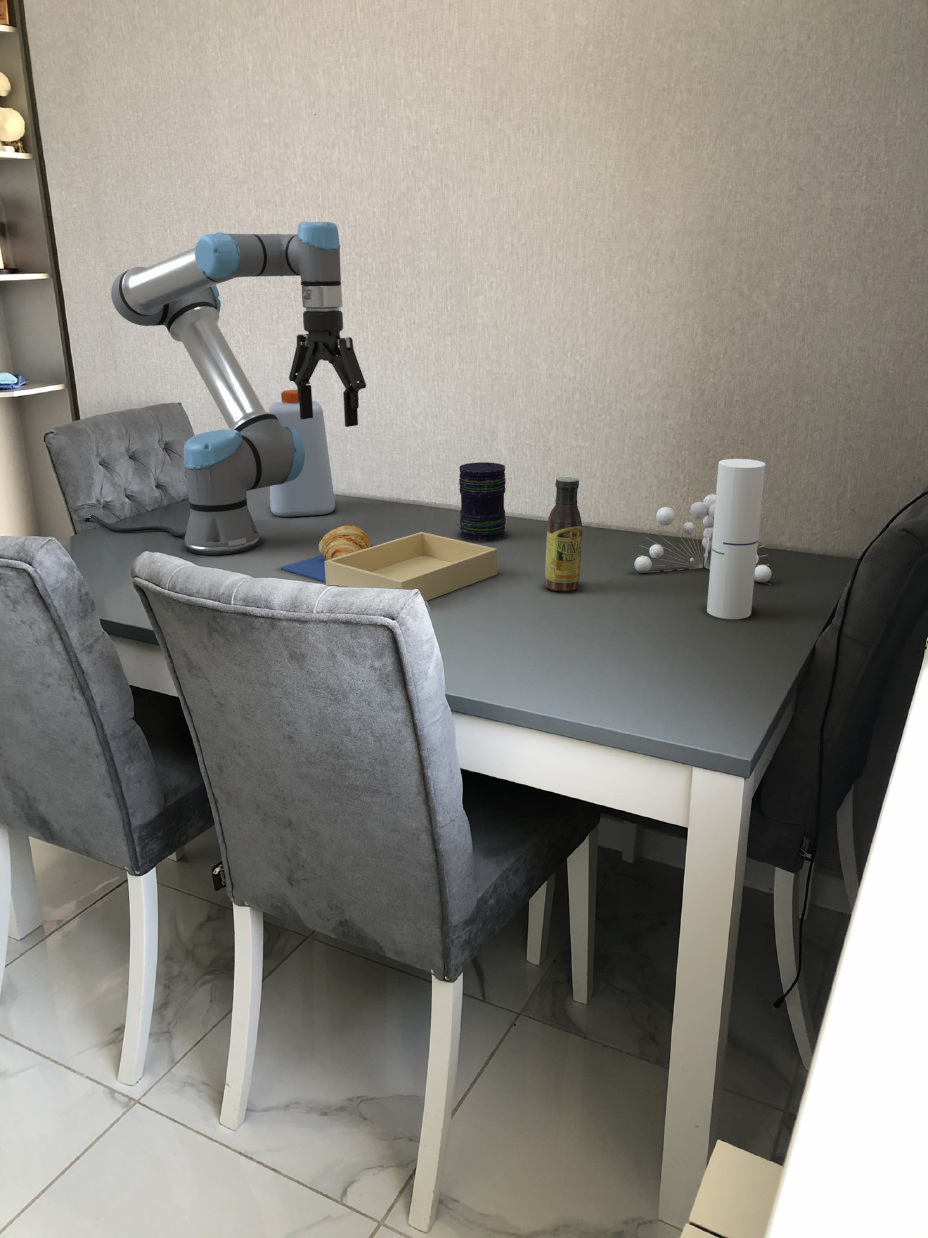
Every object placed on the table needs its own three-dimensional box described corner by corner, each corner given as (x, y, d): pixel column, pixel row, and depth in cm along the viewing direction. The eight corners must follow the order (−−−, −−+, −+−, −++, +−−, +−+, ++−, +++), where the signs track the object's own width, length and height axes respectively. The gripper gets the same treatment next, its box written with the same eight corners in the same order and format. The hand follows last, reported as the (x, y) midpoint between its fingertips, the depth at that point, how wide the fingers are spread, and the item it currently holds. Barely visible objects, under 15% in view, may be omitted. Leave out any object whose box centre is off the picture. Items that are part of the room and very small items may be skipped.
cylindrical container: (743, 622, 157) (757, 469, 148) (700, 614, 160) (712, 465, 152) (756, 609, 163) (770, 461, 154) (714, 602, 166) (726, 457, 157)
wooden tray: (325, 587, 177) (324, 561, 175) (422, 555, 195) (421, 531, 193) (402, 610, 165) (401, 582, 163) (497, 574, 183) (497, 548, 181)
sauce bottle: (556, 595, 171) (559, 484, 164) (538, 585, 176) (539, 477, 169) (587, 589, 173) (591, 480, 167) (568, 580, 179) (571, 473, 172)
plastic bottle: (271, 519, 224) (261, 396, 214) (270, 504, 238) (260, 388, 228) (336, 515, 227) (329, 393, 217) (332, 500, 241) (324, 386, 231)
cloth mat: (280, 569, 187) (280, 567, 187) (363, 544, 203) (363, 542, 203) (329, 583, 179) (328, 581, 179) (411, 556, 194) (411, 554, 194)
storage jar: (490, 544, 202) (490, 473, 197) (451, 538, 207) (449, 469, 202) (513, 533, 210) (514, 464, 205) (475, 527, 215) (474, 460, 210)
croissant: (361, 592, 183) (379, 556, 181) (312, 570, 180) (329, 533, 178) (361, 558, 203) (377, 524, 200) (316, 538, 200) (333, 504, 198)
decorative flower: (609, 555, 193) (612, 485, 188) (713, 547, 198) (718, 479, 193) (658, 594, 170) (663, 516, 165) (774, 584, 175) (782, 508, 170)
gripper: (266, 308, 189) (274, 417, 196) (351, 313, 173) (356, 431, 181) (296, 306, 194) (303, 413, 202) (382, 311, 178) (385, 426, 186)
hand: (328, 422), depth 191 cm, fingers open, 13 cm apart
